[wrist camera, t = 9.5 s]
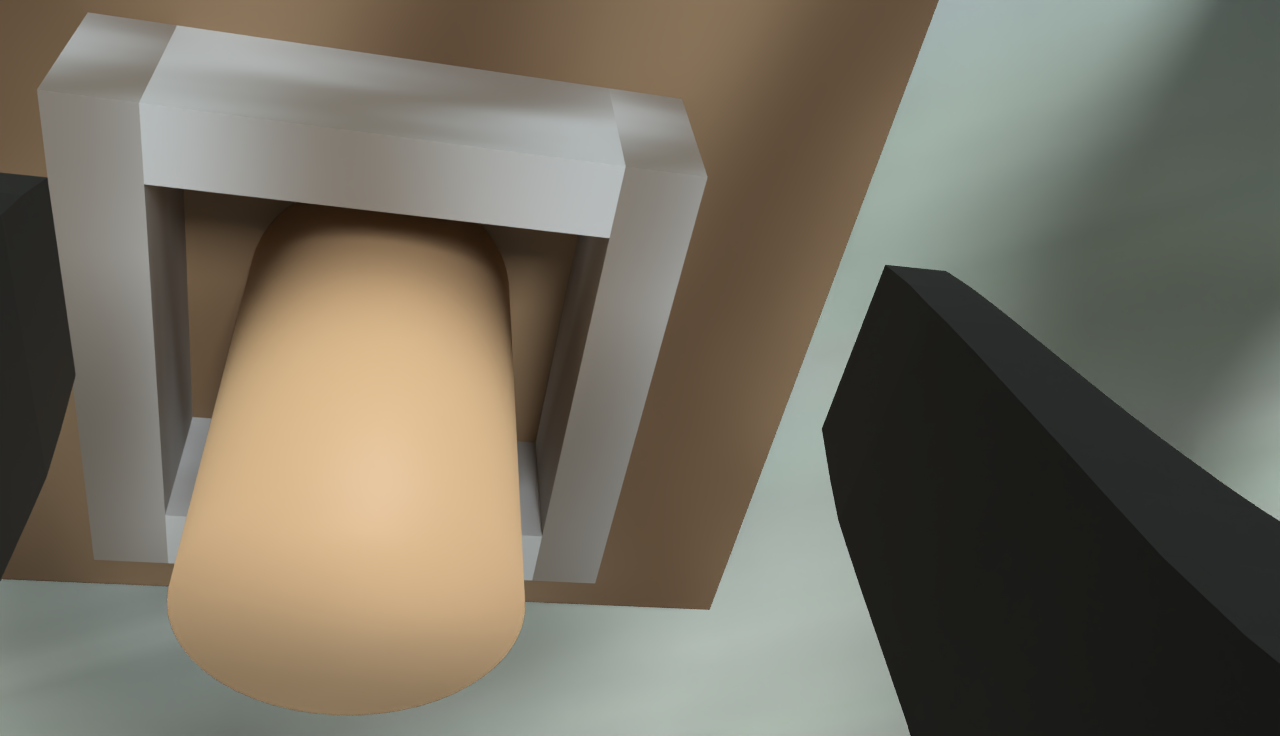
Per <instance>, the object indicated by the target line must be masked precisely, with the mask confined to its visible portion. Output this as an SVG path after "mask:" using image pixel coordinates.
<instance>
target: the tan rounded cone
mask: <svg viewBox="0 0 1280 736" xmlns="http://www.w3.org/2000/svg"><path fill="white" fill-rule="evenodd" d="M167 608H168V617H169V620H170V624H171V627H172V630H173V632H174V634H175V636H176V638H177V640H178V641H179V643H180V645H181V647H182V648H183V649H184V650H185V652H186V653H187V654H188V655H189V657H190V658H191V659H192V660H193V661H194V662H195V663H196V664H197V665H198V666H200V667H201V668H202V669H203V670H204V671H205V672H207V673H208V674H209V675H211V676H212V677H213V678H215V679H216V680H218V681H219V682H221V683H223V684H224V685H226V686H228V687H230V688H232V689H233V690H235V691H237V692H240V693H242V694H244V695H246V696H249V697H251V698H253V699H256V700H259V701H262V702H265V703H268V704H271V705H275V706H279V707H283V708H287V709H291V710H297V711H303V712H309V713H317V714H329V715H367V714H380V713H387V712H394V711H400V710H405V709H409V708H413V707H418V706H421V705H425V704H428V703H431V702H434V701H437V700H440V699H442V698H445V697H447V696H449V695H452V694H454V693H456V692H458V691H460V690H462V689H464V688H466V687H468V686H470V685H471V684H473V683H474V682H476V681H477V680H479V679H480V678H482V677H483V676H485V675H486V674H487V673H488V672H490V671H491V670H492V669H493V668H494V667H495V666H496V665H498V664H499V663H500V661H501V660H502V659H503V658H504V657H505V656H506V655H507V653H508V652H509V651H510V649H511V648H512V646H513V644H514V643H515V641H516V640H517V637H518V635H519V633H520V630H521V628H522V625H523V619H524V614H525V590H524V571H523V551H522V531H521V511H520V491H519V472H518V452H517V432H516V412H515V392H514V372H513V353H512V333H511V313H510V293H509V280H508V275H507V269H506V266H505V264H504V261H503V258H502V255H501V253H500V252H499V250H498V248H497V246H496V244H495V242H494V241H493V240H492V238H491V237H490V236H489V234H488V233H487V231H486V230H485V229H484V228H483V227H482V226H481V225H480V224H479V223H474V222H465V221H456V220H448V219H439V218H431V217H422V216H413V215H405V214H396V213H387V212H379V211H370V210H362V209H353V208H344V207H336V206H327V205H319V204H310V203H301V202H295V203H294V204H293V205H291V206H290V207H288V208H287V209H286V210H284V211H283V212H282V213H281V214H280V215H279V216H278V217H277V218H276V219H275V220H274V221H273V222H272V223H271V224H270V225H269V227H268V228H267V229H266V231H265V232H264V233H263V235H262V237H261V239H260V241H259V243H258V245H257V247H256V249H255V252H254V255H253V258H252V262H251V266H250V270H249V274H248V278H247V281H246V285H245V289H244V293H243V297H242V301H241V305H240V309H239V313H238V317H237V321H236V325H235V329H234V333H233V336H232V340H231V344H230V348H229V352H228V356H227V360H226V364H225V368H224V372H223V376H222V380H221V384H220V387H219V391H218V395H217V399H216V403H215V407H214V411H213V415H212V419H211V423H210V427H209V431H208V435H207V439H206V442H205V446H204V450H203V454H202V458H201V462H200V466H199V470H198V474H197V478H196V482H195V486H194V490H193V494H192V497H191V501H190V505H189V509H188V513H187V517H186V521H185V525H184V529H183V533H182V537H181V541H180V545H179V548H178V552H177V556H176V560H175V564H174V568H173V572H172V576H171V580H170V584H169V588H168V597H167Z"/></svg>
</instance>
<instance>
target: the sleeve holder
mask: <svg viewBox="0 0 1280 736" xmlns="http://www.w3.org/2000/svg"><path fill="white" fill-rule="evenodd" d="M938 1H939V0H0V172H1V173H10V174H20V175H29V176H39V177H47V178H48V185H49V192H50V199H51V206H52V213H53V220H54V226H55V233H56V240H57V247H58V254H59V261H60V268H61V275H62V282H63V289H64V296H65V303H66V310H67V317H68V324H69V331H70V338H71V345H72V352H73V359H74V366H75V373H76V376H75V380H74V384H73V387H72V391H71V395H70V398H69V402H68V406H67V409H66V413H65V417H64V421H63V424H62V428H61V432H60V435H59V438H58V441H57V445H56V448H55V451H54V455H53V458H52V461H51V465H50V468H49V471H48V475H47V478H46V480H45V482H44V485H43V487H42V489H41V491H40V494H39V496H38V498H37V501H36V503H35V505H34V507H33V510H32V512H31V514H30V516H29V519H28V521H27V523H26V525H25V527H24V530H23V532H22V534H21V536H20V539H19V541H18V543H17V545H16V547H15V550H14V552H13V554H12V556H11V559H10V561H9V563H8V565H7V567H6V569H5V572H4V574H3V576H2V578H1V579H13V580H36V581H59V582H82V583H105V584H128V585H151V586H169V584H170V580H171V576H172V572H173V568H174V564H175V560H176V556H177V552H178V548H179V545H180V541H181V537H182V533H183V529H184V525H185V521H186V517H187V513H188V509H189V505H190V501H191V497H192V494H193V490H194V486H195V482H196V478H197V474H198V470H199V466H200V462H201V458H202V454H203V450H204V446H205V442H206V439H207V435H208V431H209V427H210V423H211V419H212V415H213V411H214V407H215V403H216V399H217V395H218V391H219V387H220V384H221V380H222V376H223V372H224V368H225V364H226V360H227V356H228V352H229V348H230V344H231V340H232V336H233V333H234V329H235V325H236V321H237V317H238V313H239V309H240V305H241V301H242V297H243V293H244V289H245V285H246V281H247V278H248V274H249V270H250V266H251V262H252V258H253V255H254V252H255V249H256V247H257V245H258V243H259V241H260V239H261V237H262V235H263V233H264V232H265V231H266V229H267V228H268V227H269V225H270V224H271V223H272V222H273V221H274V220H275V219H276V218H277V217H278V216H279V215H280V214H281V213H282V212H283V211H284V210H286V209H287V208H288V207H290V206H291V205H293V204H294V203H295V202H301V203H310V204H319V205H327V206H336V207H344V208H353V209H362V210H370V211H379V212H387V213H396V214H405V215H413V216H422V217H431V218H439V219H448V220H456V221H465V222H474V223H479V224H480V225H481V226H482V227H483V228H484V229H485V230H486V231H487V233H488V234H489V236H490V237H491V238H492V240H493V241H494V242H495V244H496V246H497V248H498V250H499V252H500V253H501V255H502V258H503V261H504V264H505V266H506V269H507V275H508V280H509V293H510V313H511V333H512V353H513V372H514V392H515V412H516V432H517V452H518V472H519V491H520V511H521V531H522V551H523V571H524V590H525V602H544V603H567V604H590V605H613V606H637V607H660V608H683V609H706V610H710V607H711V604H712V602H713V599H714V596H715V594H716V591H717V588H718V586H719V583H720V580H721V578H722V575H723V572H724V570H725V567H726V564H727V562H728V559H729V556H730V554H731V551H732V548H733V546H734V543H735V540H736V538H737V535H738V532H739V530H740V527H741V525H742V522H743V519H744V517H745V514H746V511H747V509H748V506H749V503H750V501H751V498H752V495H753V493H754V490H755V487H756V485H757V482H758V479H759V477H760V474H761V471H762V469H763V466H764V463H765V461H766V458H767V455H768V453H769V450H770V447H771V445H772V442H773V439H774V437H775V434H776V431H777V429H778V426H779V423H780V421H781V418H782V416H783V413H784V410H785V408H786V405H787V402H788V400H789V397H790V394H791V392H792V389H793V386H794V384H795V381H796V378H797V376H798V373H799V370H800V368H801V365H802V362H803V360H804V357H805V354H806V352H807V349H808V346H809V344H810V341H811V338H812V336H813V333H814V330H815V328H816V325H817V322H818V320H819V317H820V314H821V312H822V309H823V306H824V304H825V301H826V299H827V296H828V293H829V291H830V288H831V285H832V283H833V280H834V277H835V275H836V272H837V269H838V267H839V264H840V261H841V259H842V256H843V253H844V251H845V248H846V245H847V243H848V240H849V237H850V235H851V232H852V229H853V227H854V224H855V221H856V219H857V216H858V213H859V211H860V208H861V205H862V203H863V200H864V197H865V195H866V192H867V189H868V187H869V184H870V182H871V179H872V176H873V174H874V171H875V168H876V166H877V163H878V160H879V158H880V155H881V152H882V150H883V147H884V144H885V142H886V139H887V136H888V134H889V131H890V128H891V126H892V123H893V120H894V118H895V115H896V112H897V110H898V107H899V104H900V102H901V99H902V96H903V94H904V91H905V88H906V86H907V83H908V80H909V78H910V75H911V72H912V70H913V67H914V65H915V62H916V59H917V57H918V54H919V51H920V49H921V46H922V43H923V41H924V38H925V35H926V33H927V30H928V27H929V25H930V22H931V19H932V17H933V14H934V11H935V9H936V6H937V3H938Z"/></svg>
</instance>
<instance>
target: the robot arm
mask: <svg viewBox="0 0 1280 736" xmlns="http://www.w3.org/2000/svg"><path fill="white" fill-rule="evenodd" d="M75 376H76V373H75V366H74V359H73V352H72V345H71V338H70V331H69V324H68V317H67V310H66V303H65V296H64V289H63V282H62V275H61V268H60V261H59V254H58V247H57V240H56V233H55V226H54V220H53V213H52V206H51V199H50V192H49V185H48V178H47V177H39V176H29V175H20V174H10V173H1V172H0V580H1V578H2V576H3V574H4V572H5V569H6V567H7V565H8V563H9V561H10V559H11V556H12V554H13V552H14V550H15V547H16V545H17V543H18V541H19V539H20V536H21V534H22V532H23V530H24V527H25V525H26V523H27V521H28V519H29V516H30V514H31V512H32V510H33V507H34V505H35V503H36V501H37V498H38V496H39V494H40V491H41V489H42V487H43V485H44V482H45V480H46V478H47V475H48V471H49V468H50V465H51V461H52V458H53V455H54V451H55V448H56V445H57V441H58V438H59V435H60V432H61V428H62V424H63V421H64V417H65V413H66V409H67V406H68V402H69V398H70V395H71V391H72V387H73V384H74V380H75ZM822 432H823V438H824V444H825V450H826V457H827V463H828V469H829V475H830V481H831V486H832V491H833V496H834V501H835V506H836V511H837V515H838V520H839V523H840V527H841V530H842V533H843V536H844V539H845V542H846V546H847V549H848V552H849V555H850V558H851V561H852V564H853V567H854V570H855V573H856V576H857V579H858V582H859V585H860V588H861V591H862V594H863V597H864V600H865V602H866V605H867V608H868V611H869V614H870V617H871V620H872V623H873V626H874V629H875V632H876V634H877V637H878V640H879V643H880V646H881V649H882V652H883V655H884V658H885V661H886V664H887V667H888V669H889V672H890V675H891V678H892V681H893V684H894V687H895V690H896V693H897V696H898V699H899V702H900V704H901V707H902V710H903V713H904V716H905V719H906V722H907V725H908V729H909V732H910V735H911V736H1280V521H1278V520H1277V519H1275V518H1274V517H1272V516H1271V515H1269V514H1267V513H1266V512H1264V511H1263V510H1261V509H1260V508H1258V507H1257V506H1255V505H1254V504H1252V503H1251V502H1249V501H1248V500H1246V499H1245V498H1243V497H1242V496H1240V495H1239V494H1238V493H1236V492H1235V491H1233V490H1232V489H1230V488H1229V487H1227V486H1226V485H1224V484H1223V483H1222V482H1220V481H1219V480H1217V479H1216V478H1215V477H1213V476H1212V475H1211V474H1209V473H1208V472H1206V471H1205V470H1204V469H1202V468H1201V467H1200V466H1198V465H1197V464H1195V463H1194V462H1193V461H1191V460H1190V459H1189V458H1187V457H1186V456H1184V455H1183V454H1182V453H1180V452H1179V451H1178V450H1176V449H1175V448H1174V447H1172V446H1171V445H1169V444H1168V443H1167V442H1165V441H1164V440H1163V439H1161V438H1160V437H1159V436H1157V435H1156V434H1155V433H1153V432H1152V431H1151V430H1149V429H1148V428H1147V427H1146V426H1144V425H1143V424H1142V423H1140V422H1139V421H1138V420H1136V419H1135V418H1134V417H1133V416H1131V415H1130V414H1129V413H1127V412H1126V411H1125V410H1124V409H1122V408H1121V407H1120V406H1118V405H1117V404H1116V403H1115V402H1113V401H1112V400H1111V399H1110V398H1108V397H1107V396H1106V395H1105V394H1103V393H1102V392H1101V391H1100V390H1098V389H1097V388H1096V387H1095V386H1093V385H1092V384H1091V383H1090V382H1088V381H1087V380H1086V379H1085V378H1083V377H1082V376H1081V375H1080V374H1078V373H1077V372H1076V371H1075V370H1074V369H1072V368H1071V367H1070V366H1069V365H1067V364H1066V363H1065V362H1064V361H1062V360H1061V359H1060V358H1059V357H1058V356H1056V355H1055V354H1054V353H1053V352H1051V351H1050V350H1049V349H1048V348H1047V347H1045V346H1044V345H1043V344H1042V343H1040V342H1039V341H1038V340H1037V339H1035V338H1034V337H1033V336H1032V335H1031V334H1029V333H1028V332H1027V331H1026V330H1024V329H1023V328H1022V327H1021V326H1019V325H1018V324H1017V323H1016V322H1015V321H1013V320H1012V319H1011V318H1010V317H1008V316H1007V315H1006V314H1004V313H1003V312H1002V311H1001V310H999V309H998V308H997V307H996V306H994V305H993V304H992V303H990V302H989V301H988V300H987V299H985V298H984V297H983V296H981V295H980V294H979V293H977V292H976V291H975V290H973V289H972V288H970V287H969V286H968V285H966V284H965V283H963V282H962V281H960V280H959V279H957V278H956V277H954V276H953V275H951V274H950V273H948V272H946V271H939V270H929V269H919V268H910V267H900V266H891V265H885V267H884V270H883V272H882V275H881V278H880V280H879V283H878V285H877V288H876V290H875V293H874V296H873V298H872V301H871V303H870V306H869V309H868V311H867V314H866V316H865V319H864V321H863V324H862V327H861V329H860V332H859V334H858V337H857V340H856V342H855V345H854V347H853V350H852V352H851V355H850V358H849V360H848V363H847V365H846V368H845V371H844V373H843V376H842V378H841V381H840V383H839V386H838V389H837V391H836V394H835V396H834V399H833V402H832V404H831V407H830V409H829V412H828V414H827V417H826V420H825V422H824V425H823V427H822Z"/></svg>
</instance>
